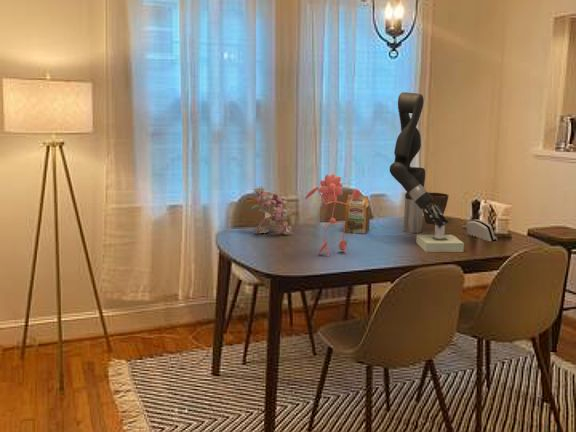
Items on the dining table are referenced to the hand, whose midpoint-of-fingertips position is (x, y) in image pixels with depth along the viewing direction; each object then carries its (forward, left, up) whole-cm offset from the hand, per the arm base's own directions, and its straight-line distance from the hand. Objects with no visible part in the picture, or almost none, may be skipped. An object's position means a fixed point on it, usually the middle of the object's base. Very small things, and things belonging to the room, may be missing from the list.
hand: (444, 224), depth 270 cm
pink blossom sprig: (+8, -53, -11) cm, 55 cm away
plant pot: (-57, +12, -11) cm, 59 cm away
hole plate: (-1, -1, -11) cm, 11 cm away
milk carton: (-34, -34, -11) cm, 50 cm away
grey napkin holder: (-21, +25, -11) cm, 35 cm away
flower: (-28, -76, -11) cm, 82 cm away
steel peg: (-1, -2, -11) cm, 11 cm away
